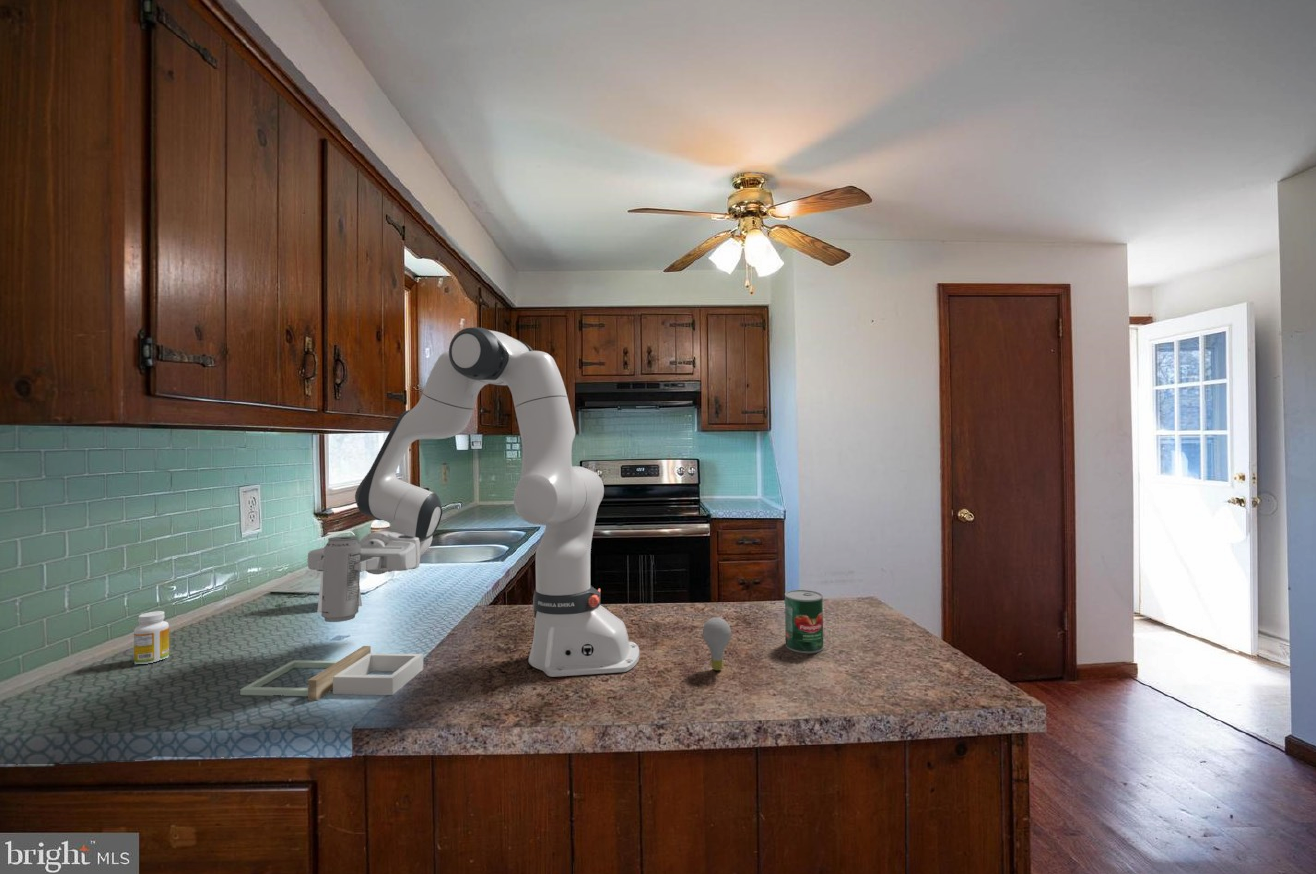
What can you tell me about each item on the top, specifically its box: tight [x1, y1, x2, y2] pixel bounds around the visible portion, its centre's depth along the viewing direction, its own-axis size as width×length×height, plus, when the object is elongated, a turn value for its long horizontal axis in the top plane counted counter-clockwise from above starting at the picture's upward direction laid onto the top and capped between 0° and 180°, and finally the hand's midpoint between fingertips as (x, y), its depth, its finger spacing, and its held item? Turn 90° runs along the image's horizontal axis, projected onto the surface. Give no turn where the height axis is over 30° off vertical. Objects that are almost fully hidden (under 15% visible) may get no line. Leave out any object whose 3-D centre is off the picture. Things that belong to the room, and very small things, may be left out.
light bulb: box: [702, 617, 732, 672], centre depth 106 cm, size 6×6×10 cm
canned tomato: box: [784, 589, 825, 654], centre depth 118 cm, size 8×8×11 cm
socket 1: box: [239, 659, 339, 697], centre depth 104 cm, size 13×13×1 cm
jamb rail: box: [307, 645, 372, 701], centre depth 104 cm, size 2×16×4 cm, turn 176°
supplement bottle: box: [133, 610, 170, 665], centre depth 115 cm, size 5×5×10 cm
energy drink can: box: [320, 535, 361, 623], centre depth 104 cm, size 6×6×15 cm
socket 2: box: [332, 652, 424, 696], centre depth 103 cm, size 11×11×3 cm
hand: (338, 567), depth 103 cm, fingers closed on energy drink can, 6 cm apart
